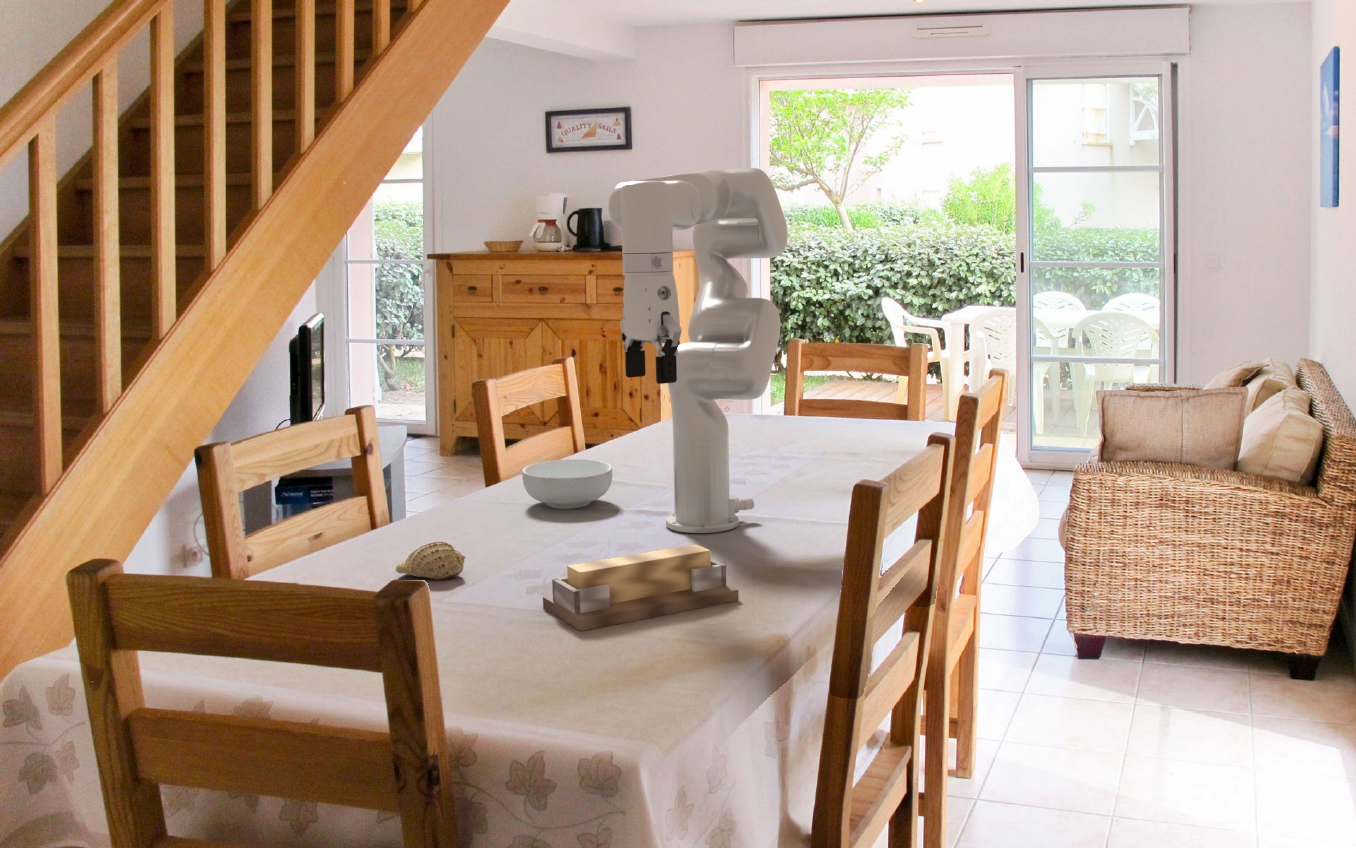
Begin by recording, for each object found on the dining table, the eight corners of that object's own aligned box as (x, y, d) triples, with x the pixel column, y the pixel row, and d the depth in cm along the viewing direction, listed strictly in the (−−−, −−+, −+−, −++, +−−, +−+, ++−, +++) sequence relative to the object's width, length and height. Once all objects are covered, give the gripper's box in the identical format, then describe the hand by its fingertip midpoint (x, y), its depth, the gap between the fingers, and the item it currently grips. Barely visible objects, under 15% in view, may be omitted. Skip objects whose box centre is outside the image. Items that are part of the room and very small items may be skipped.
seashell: (411, 605, 183) (472, 571, 184) (391, 570, 181) (453, 537, 183) (410, 590, 190) (468, 558, 192) (391, 557, 189) (450, 525, 190)
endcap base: (694, 580, 182) (693, 550, 181) (738, 600, 172) (738, 568, 171) (543, 607, 170) (541, 575, 170) (580, 631, 160) (579, 597, 159)
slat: (696, 578, 178) (695, 544, 177) (710, 585, 174) (710, 550, 173) (568, 601, 168) (567, 565, 167) (581, 609, 164) (580, 572, 164)
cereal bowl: (504, 506, 233) (503, 469, 232) (568, 491, 246) (566, 455, 245) (569, 518, 222) (567, 480, 221) (631, 502, 235) (630, 465, 234)
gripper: (699, 265, 180) (701, 383, 182) (642, 263, 195) (645, 372, 197) (653, 267, 176) (656, 387, 179) (599, 265, 191) (603, 376, 194)
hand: (650, 379), depth 188 cm, fingers open, 9 cm apart
